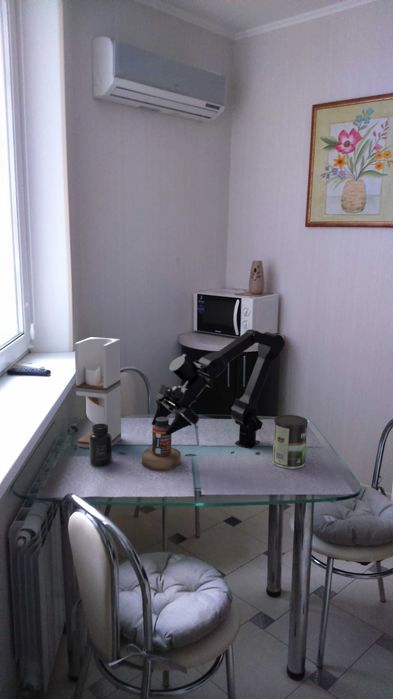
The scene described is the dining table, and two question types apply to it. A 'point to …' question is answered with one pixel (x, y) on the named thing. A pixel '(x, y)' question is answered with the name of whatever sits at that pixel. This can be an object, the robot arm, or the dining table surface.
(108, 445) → the supplement bottle
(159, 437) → the supplement bottle
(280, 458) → the coffee can
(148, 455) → the walnut stand
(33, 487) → the dining table surface
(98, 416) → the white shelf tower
